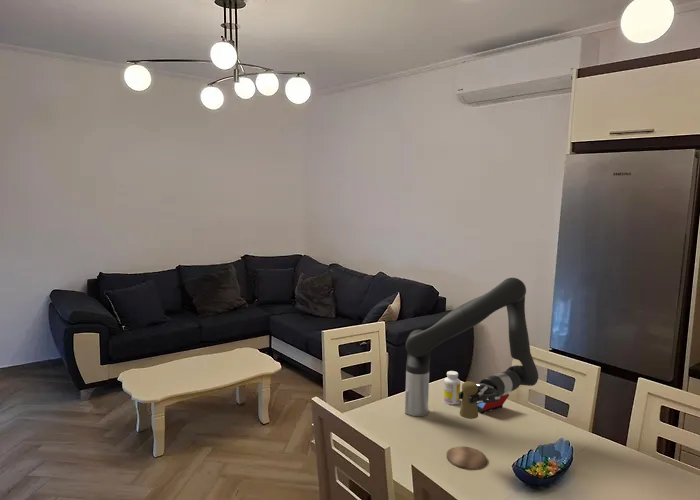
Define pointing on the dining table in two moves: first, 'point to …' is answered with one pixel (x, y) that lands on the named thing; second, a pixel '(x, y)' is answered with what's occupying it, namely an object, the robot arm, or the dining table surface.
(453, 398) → the supplement bottle
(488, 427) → the dining table surface
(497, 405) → the handheld game console
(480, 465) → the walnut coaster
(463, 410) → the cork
